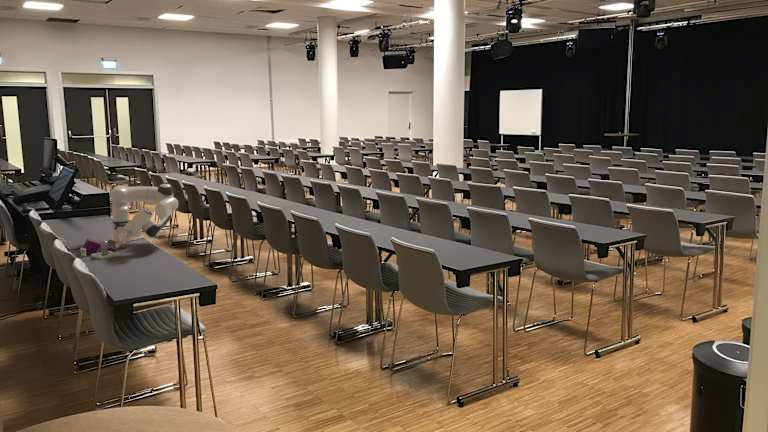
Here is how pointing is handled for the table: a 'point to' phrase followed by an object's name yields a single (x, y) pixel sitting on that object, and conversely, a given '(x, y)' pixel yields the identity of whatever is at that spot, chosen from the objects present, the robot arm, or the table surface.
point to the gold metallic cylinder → (122, 246)
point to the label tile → (83, 252)
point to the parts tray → (110, 255)
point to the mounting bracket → (94, 246)
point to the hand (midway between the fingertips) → (116, 245)
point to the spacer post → (104, 248)
